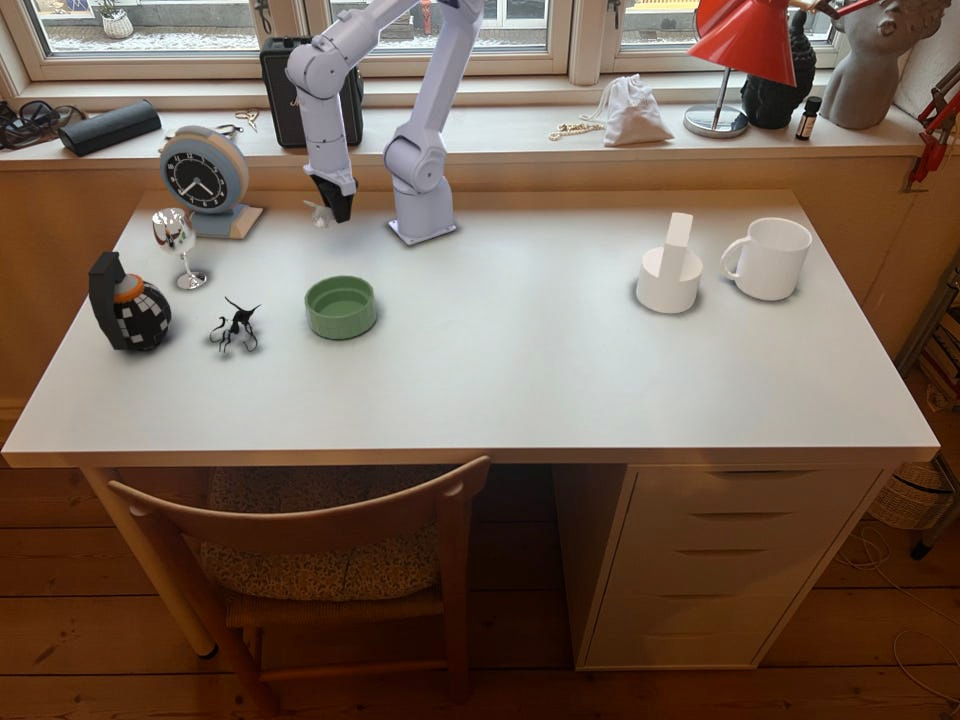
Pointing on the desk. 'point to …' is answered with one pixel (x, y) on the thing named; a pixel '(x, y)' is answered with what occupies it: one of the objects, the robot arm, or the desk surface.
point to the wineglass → (177, 241)
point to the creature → (238, 317)
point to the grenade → (127, 306)
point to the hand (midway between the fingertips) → (338, 215)
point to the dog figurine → (319, 213)
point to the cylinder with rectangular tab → (670, 271)
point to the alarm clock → (209, 181)
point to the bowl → (340, 307)
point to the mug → (769, 258)
